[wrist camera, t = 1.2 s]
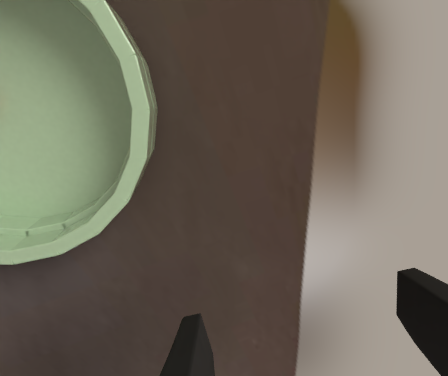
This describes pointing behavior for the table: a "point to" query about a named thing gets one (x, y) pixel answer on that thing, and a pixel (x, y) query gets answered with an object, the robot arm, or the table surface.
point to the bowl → (68, 124)
